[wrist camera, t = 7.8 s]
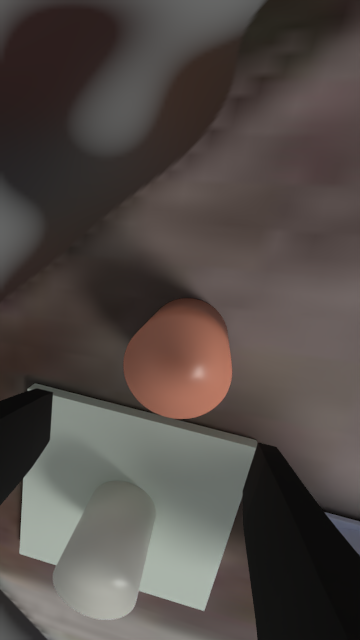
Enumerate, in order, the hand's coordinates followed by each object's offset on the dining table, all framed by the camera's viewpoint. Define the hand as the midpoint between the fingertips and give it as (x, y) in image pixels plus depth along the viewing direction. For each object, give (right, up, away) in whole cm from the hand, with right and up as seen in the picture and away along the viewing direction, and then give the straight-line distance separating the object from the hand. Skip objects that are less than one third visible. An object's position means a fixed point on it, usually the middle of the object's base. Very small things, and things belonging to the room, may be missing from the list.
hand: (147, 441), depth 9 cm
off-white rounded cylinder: (-3, -10, +11) cm, 15 cm away
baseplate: (-3, -10, +12) cm, 15 cm away
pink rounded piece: (+2, +3, +8) cm, 9 cm away
